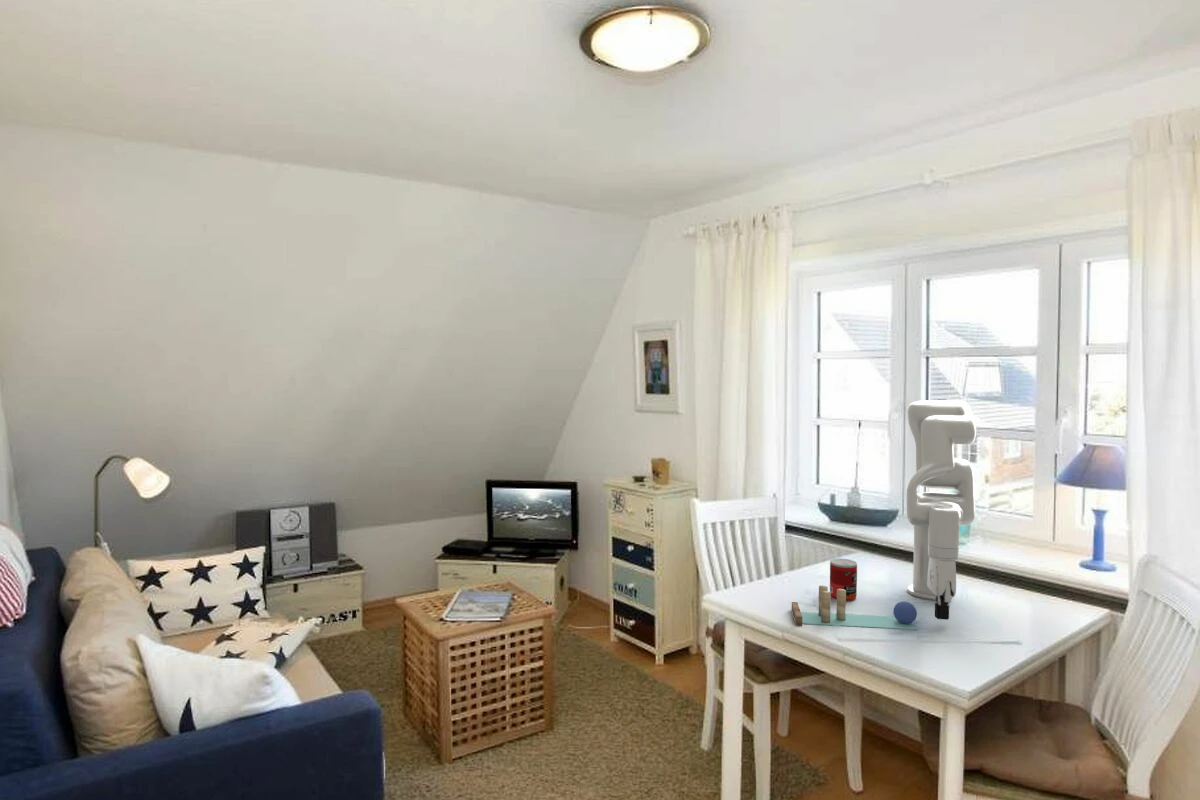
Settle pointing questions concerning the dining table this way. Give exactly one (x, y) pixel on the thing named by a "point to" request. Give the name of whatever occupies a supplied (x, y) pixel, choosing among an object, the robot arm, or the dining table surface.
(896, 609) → the ball
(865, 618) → the panel
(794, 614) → the block
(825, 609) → the pin
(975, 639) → the dining table surface
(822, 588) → the pin
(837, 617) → the pin front
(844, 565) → the canned food
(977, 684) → the dining table surface
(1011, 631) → the dining table surface
